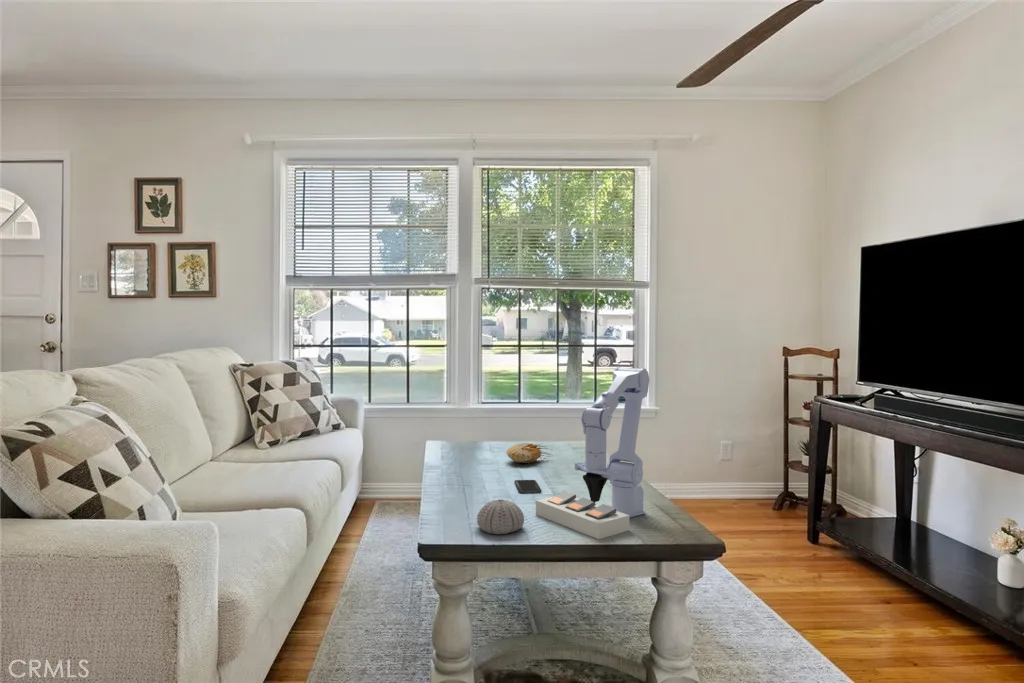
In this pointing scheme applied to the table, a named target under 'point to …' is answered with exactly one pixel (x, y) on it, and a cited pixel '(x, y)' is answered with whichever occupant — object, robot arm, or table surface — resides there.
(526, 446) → the nautilus
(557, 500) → the rocker
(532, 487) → the phone
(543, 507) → the rocker switch panel
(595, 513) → the rocker
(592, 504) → the rocker middle
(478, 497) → the table surface
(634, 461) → the robot arm
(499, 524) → the sea urchin shell
